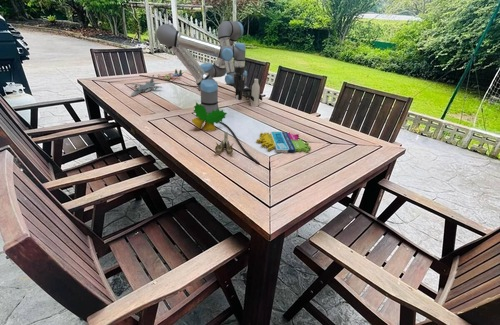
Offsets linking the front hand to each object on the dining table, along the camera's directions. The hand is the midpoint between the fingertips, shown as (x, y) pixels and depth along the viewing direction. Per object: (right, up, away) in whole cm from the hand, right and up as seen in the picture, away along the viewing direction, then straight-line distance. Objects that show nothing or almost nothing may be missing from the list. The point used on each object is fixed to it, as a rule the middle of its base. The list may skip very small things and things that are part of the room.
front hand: (238, 98), depth 199 cm
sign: (+27, -37, -46) cm, 65 cm away
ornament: (-17, -27, -34) cm, 47 cm away
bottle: (+12, -1, +16) cm, 21 cm away
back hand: (+15, +2, +9) cm, 18 cm away
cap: (0, +2, -1) cm, 2 cm away
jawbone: (-5, -43, -60) cm, 74 cm away
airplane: (-84, +15, +32) cm, 91 cm away
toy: (-75, +43, +84) cm, 120 cm away
